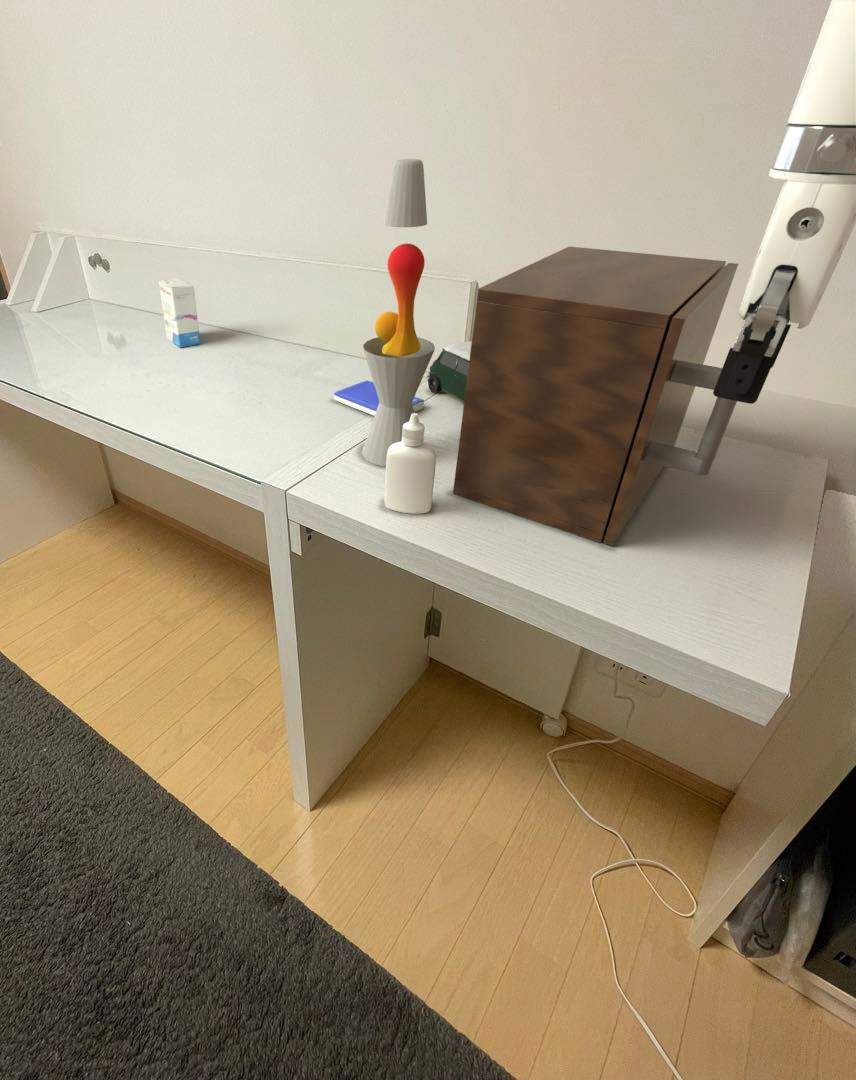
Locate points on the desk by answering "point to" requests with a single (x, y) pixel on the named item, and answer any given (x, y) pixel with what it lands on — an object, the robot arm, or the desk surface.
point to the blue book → (366, 398)
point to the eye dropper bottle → (410, 471)
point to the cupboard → (566, 380)
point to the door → (677, 402)
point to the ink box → (179, 312)
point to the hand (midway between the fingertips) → (743, 381)
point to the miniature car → (451, 370)
